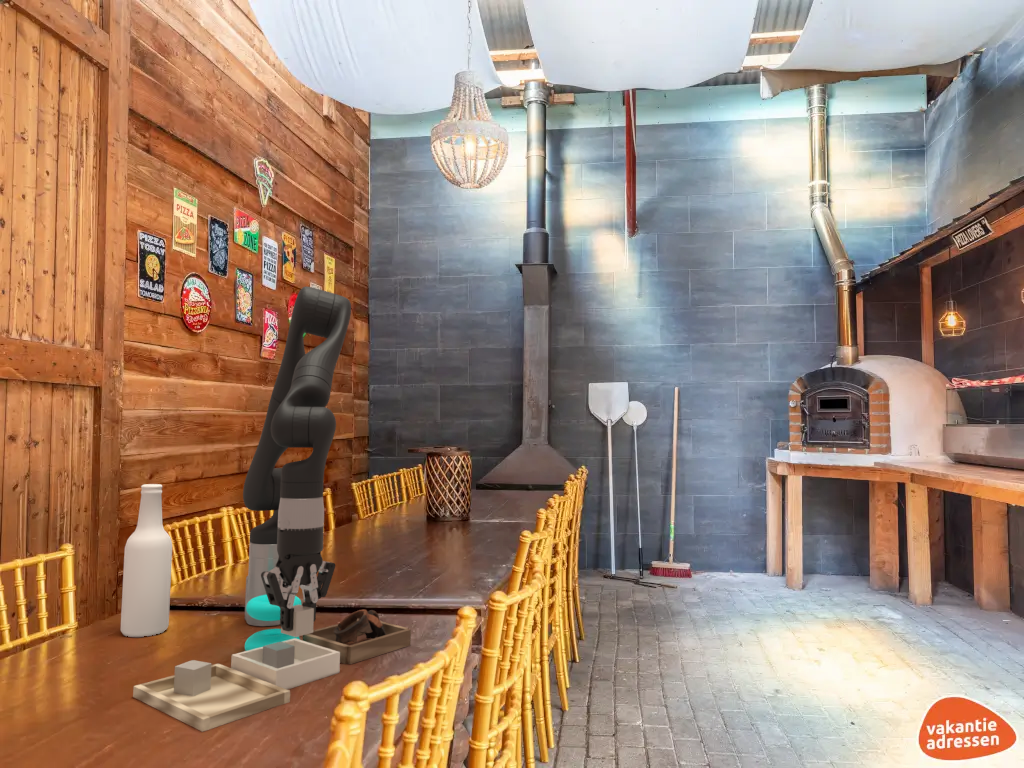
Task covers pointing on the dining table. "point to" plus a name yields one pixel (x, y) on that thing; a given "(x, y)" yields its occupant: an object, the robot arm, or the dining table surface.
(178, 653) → the dining table surface
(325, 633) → the frame
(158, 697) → the tray
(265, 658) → the grey cube
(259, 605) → the donuts
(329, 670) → the dish
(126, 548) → the alcohol
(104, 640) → the dining table surface
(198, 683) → the grey stone cube
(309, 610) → the grey cube near
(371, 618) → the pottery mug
